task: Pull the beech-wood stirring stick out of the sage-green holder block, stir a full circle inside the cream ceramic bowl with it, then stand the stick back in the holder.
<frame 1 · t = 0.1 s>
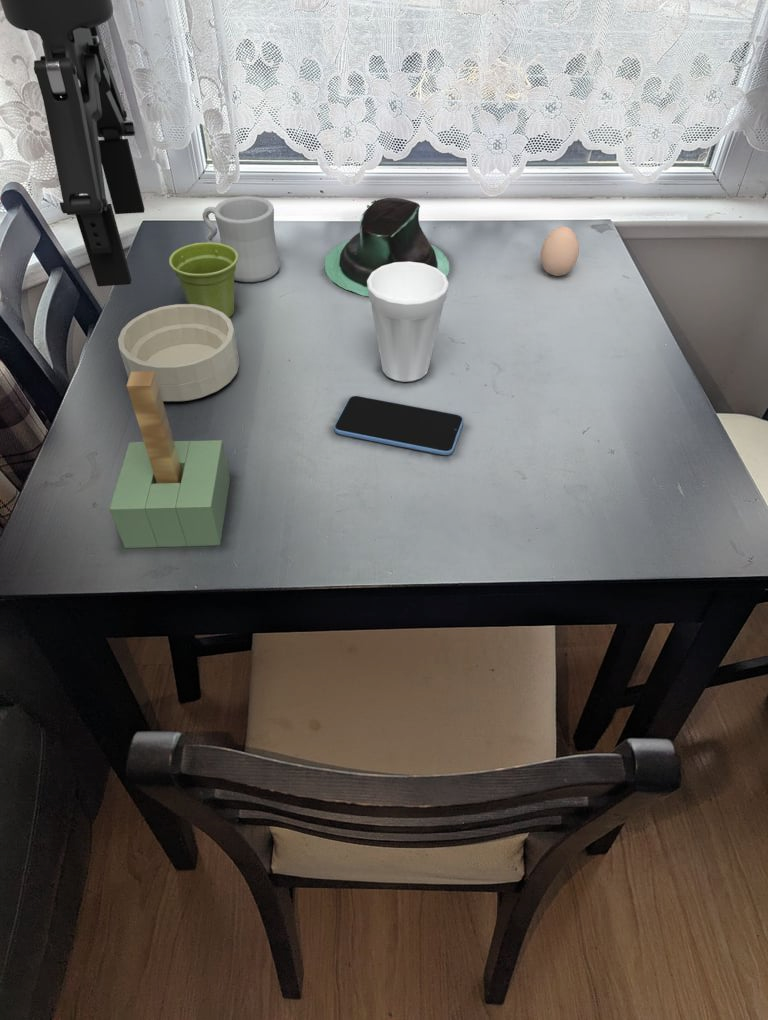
hand: (123, 245, 66), 27 cm above the table, tool pointing down, fingers open, 13 cm apart
stirring stick: (161, 451, 73), in the holder
mug: (243, 269, 117), on the table
holder: (179, 512, 80), on the table
cup: (405, 371, 98), on the table
bowl: (185, 372, 97), on the table
smartphone: (398, 428, 90), on the table
egg: (555, 275, 116), on the table
plant pot: (214, 313, 108), on the table
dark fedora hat: (387, 266, 118), on the table
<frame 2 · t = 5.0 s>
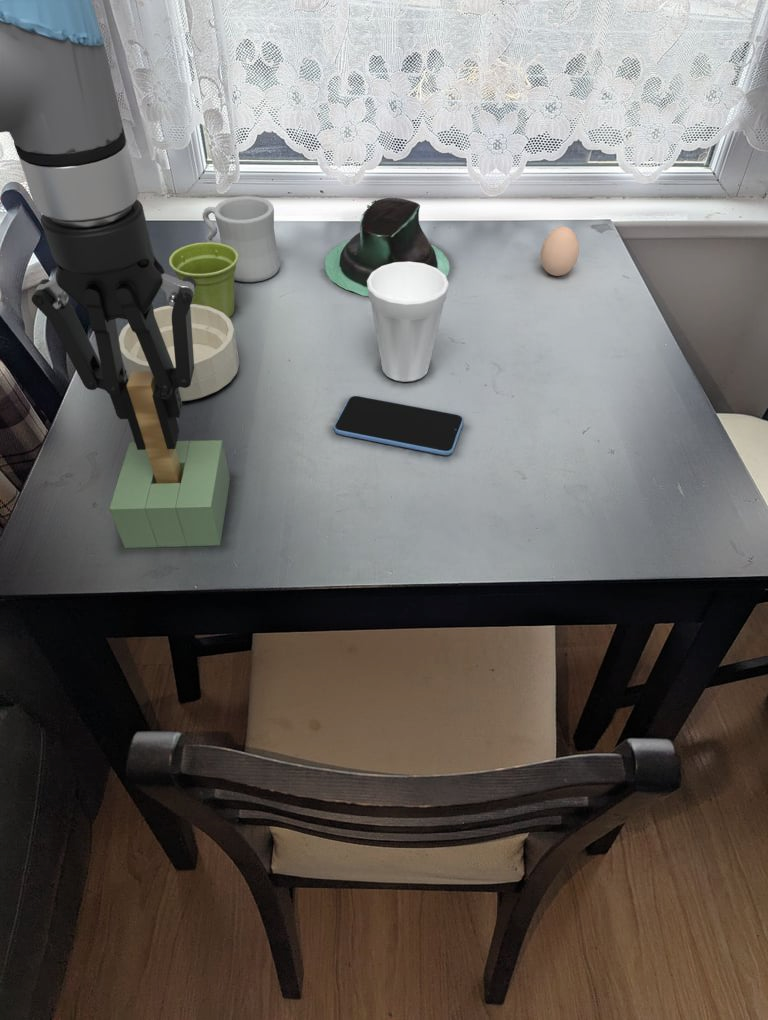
hand: (158, 440, 72), 10 cm above the table, tool pointing down, fingers closed on stirring stick, 2 cm apart
stirring stick: (161, 451, 73), in the holder, touching gripper
everything else where it was.
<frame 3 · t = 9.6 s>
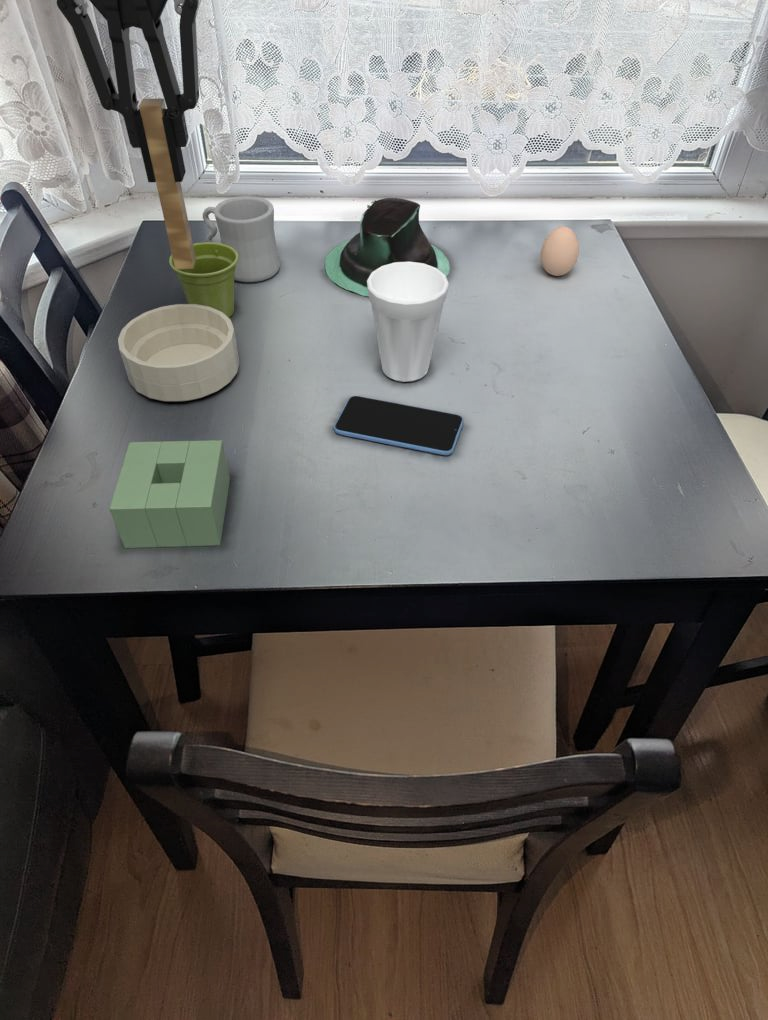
hand: (167, 176, 80), 25 cm above the table, tool pointing down, fingers closed on stirring stick, 2 cm apart
stirring stick: (170, 189, 82), point 24 cm above the table, touching gripper
everything else where it was.
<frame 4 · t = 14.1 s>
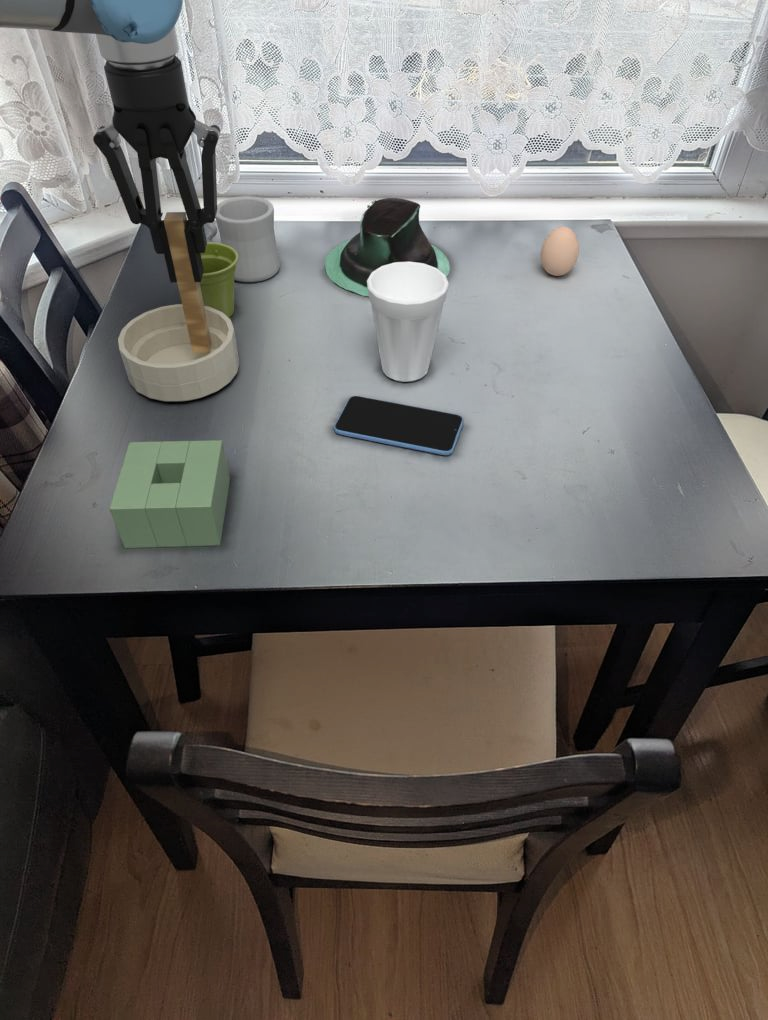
hand: (187, 276, 89), 13 cm above the table, tool pointing down, fingers closed on stirring stick, 2 cm apart
stirring stick: (189, 287, 90), point 12 cm above the table, touching gripper
everything else where it was.
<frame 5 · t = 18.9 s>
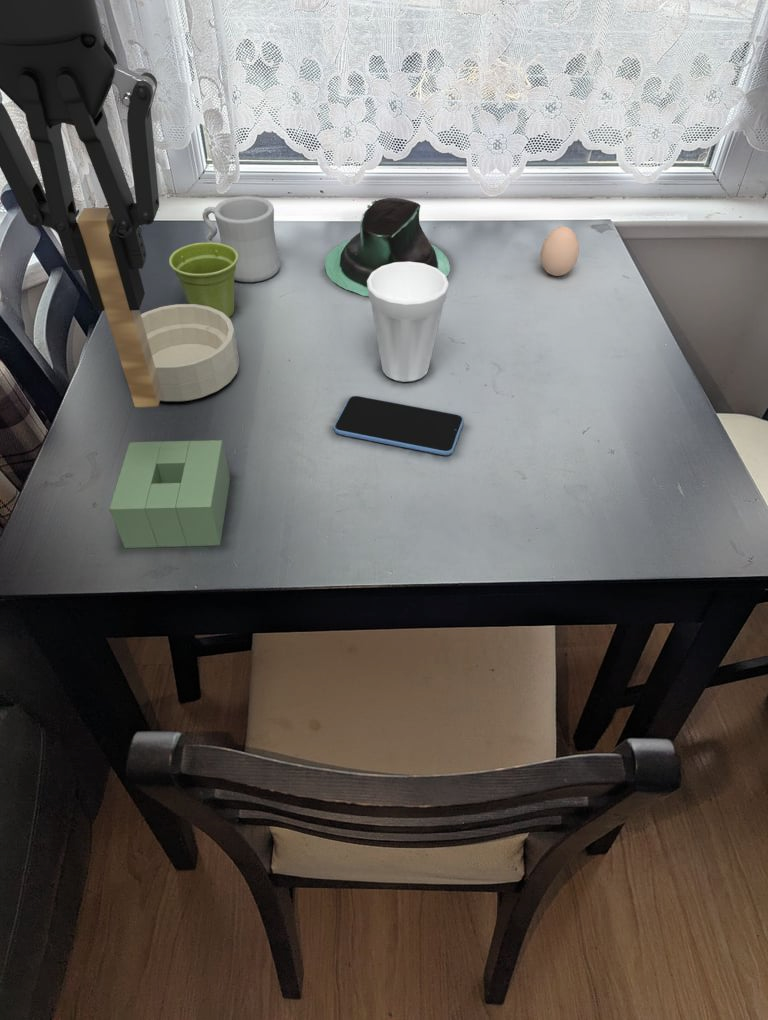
hand: (120, 301, 62), 26 cm above the table, tool pointing down, fingers closed on stirring stick, 2 cm apart
stirring stick: (124, 316, 63), point 24 cm above the table, touching gripper
everything else where it was.
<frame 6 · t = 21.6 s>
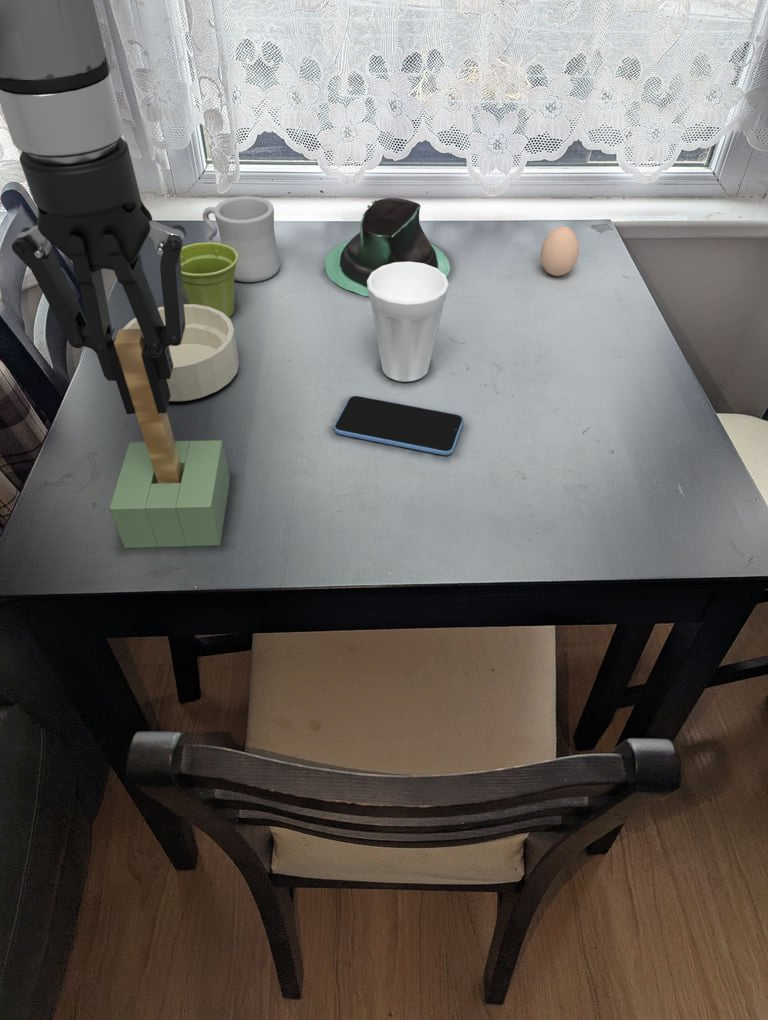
hand: (149, 404, 69), 15 cm above the table, tool pointing down, fingers closed on stirring stick, 2 cm apart
stirring stick: (152, 416, 70), point 14 cm above the table, touching gripper
everything else where it was.
when the fingers open (10 cm above the table, at t = 23.1 s): stirring stick stays where it is, resting in holder.
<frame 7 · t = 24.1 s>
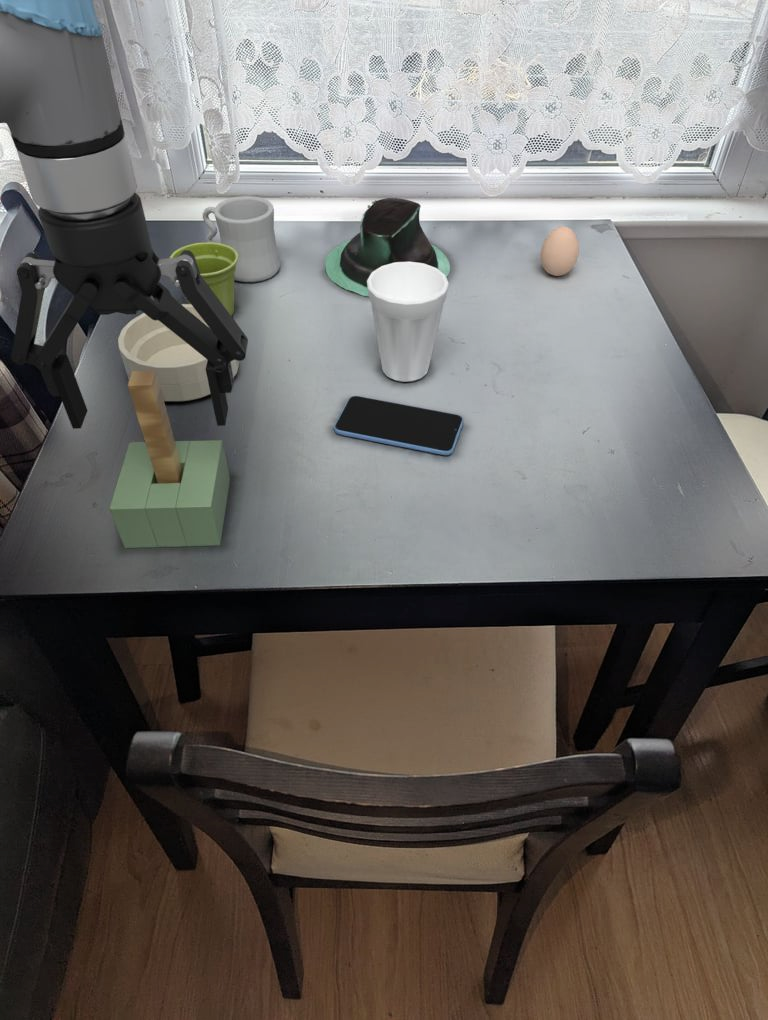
hand: (151, 418, 70), 13 cm above the table, tool pointing down, fingers open, 13 cm apart
stirring stick: (162, 450, 73), in the holder
everything else where it was.
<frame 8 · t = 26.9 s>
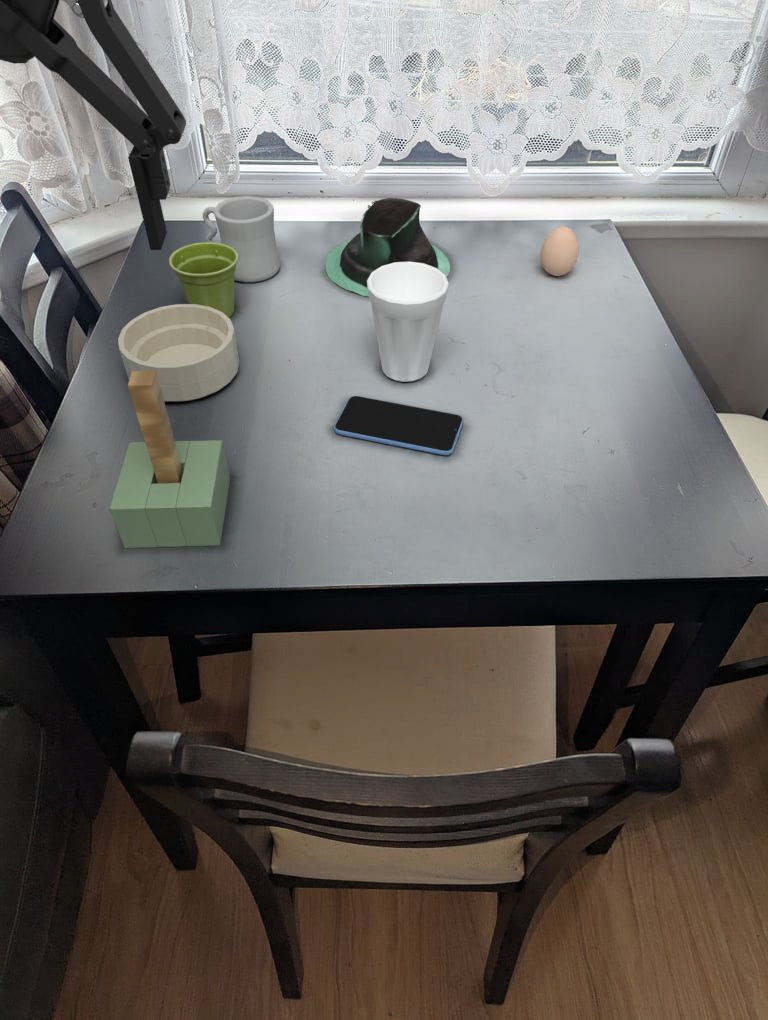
hand: (66, 243, 54), 33 cm above the table, tool pointing down, fingers open, 13 cm apart
nothing on the table moved.
at the end: stirring stick 0.1 cm off-centre in the holder, point 9.0 cm above the holder's base; stirring stick tilted 0°; bowl moved 0.0 cm from its start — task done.
